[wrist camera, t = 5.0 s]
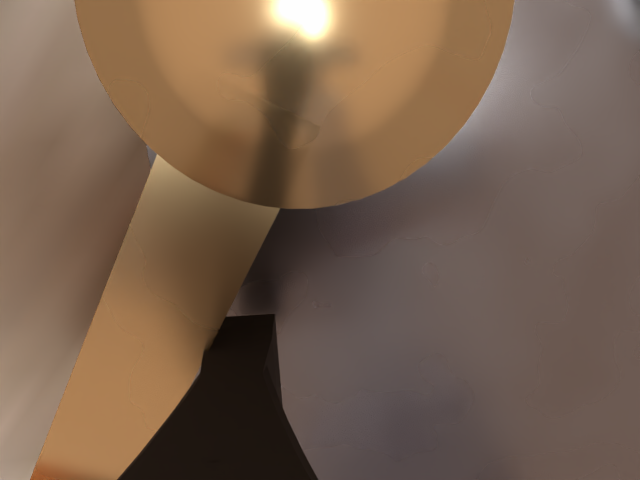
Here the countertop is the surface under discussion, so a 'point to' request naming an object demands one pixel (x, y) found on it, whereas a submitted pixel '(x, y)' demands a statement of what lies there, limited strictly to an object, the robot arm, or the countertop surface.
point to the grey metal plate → (480, 280)
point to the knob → (246, 169)
